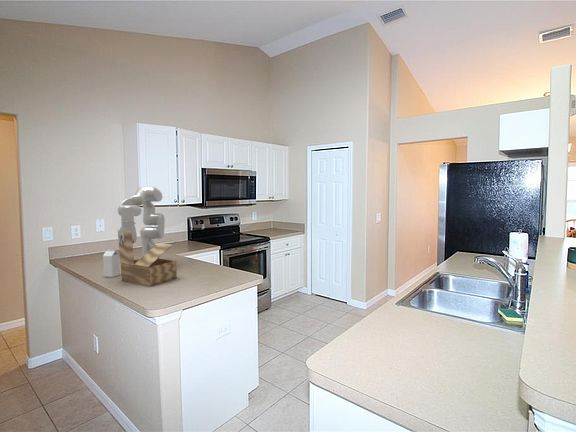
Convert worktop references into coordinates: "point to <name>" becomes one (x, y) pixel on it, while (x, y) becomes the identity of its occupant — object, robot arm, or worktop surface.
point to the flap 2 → (153, 255)
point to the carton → (149, 272)
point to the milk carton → (111, 263)
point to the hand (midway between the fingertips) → (129, 251)
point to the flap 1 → (126, 249)
